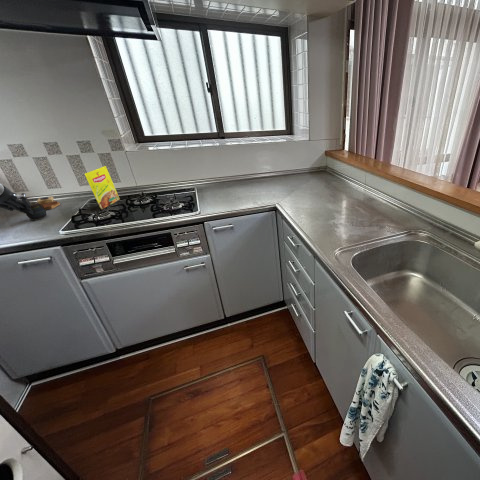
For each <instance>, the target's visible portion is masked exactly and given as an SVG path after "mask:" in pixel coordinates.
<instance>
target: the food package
mask: <svg viewBox="0 0 480 480" xmlns="http://www.w3.org/2000/svg"><path fill="white" fill-rule="evenodd" d="M84 176H85V178H86V181H87V183H88V185H89V187H90V190H91V191H92V193H93V195H94V198H95V200H96V203H97V204H98V207H99V208H100V210H103V209H106V208H107V207H109V206H111V205H113V204H115V203H116V202H118V201H120V200H121V197H119V194H118V191H117V189H116V186H115V184H114V182H113V179H112V177H111V174H110V173H109V170H108V168H107V165H104V166H102V167H99V168H96V169H93V170H90V171H88V172H84Z"/></svg>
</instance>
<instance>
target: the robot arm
mask: <svg viewBox="0 0 480 480" xmlns="http://www.w3.org/2000/svg"><path fill="white" fill-rule="evenodd" d="M30 202H31V201H30V200H29V199H28V198H27V196H26V193H24V192H22V193H21V194H17V193H15V192H13V191H12V190H11V189H10V188H8V187H7V186H5V185H4V184H2V183H0V208H1V209H5V210H8V211H10V212H11V211H18V212H19V213H24V214H25V215H26V214H27V215H29V216H31V215H34V214H33V210H32V209H31V204H30ZM27 215H26V216H27Z"/></svg>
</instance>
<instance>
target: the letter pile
mask: <svg viewBox="0 0 480 480" xmlns="http://www.w3.org/2000/svg"><path fill="white" fill-rule="evenodd" d="M36 202H38V203H39V205H40V206H41V207H43V208H44V209H45V210H53V209H55V208H56V207H58V206H60V205H61V203H60V201H57V200H55V198H54V196H45V197H39V198H38V199H37V201H36Z"/></svg>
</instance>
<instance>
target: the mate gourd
mask: <svg viewBox="0 0 480 480" xmlns="http://www.w3.org/2000/svg"><path fill="white" fill-rule="evenodd" d="M29 202H30V204H31V209H32V210H33V214H34V215H31V216H29V215H27V214H26V213H25V215H26V216H27V218H29V219H30V220H34V221H38V220H42V219H44V218H46V217H47V211H46V210H47V209H46V210H45V209H44V208H43V207H41V206H40V205H39V203H38V202H37V201H29Z"/></svg>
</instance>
